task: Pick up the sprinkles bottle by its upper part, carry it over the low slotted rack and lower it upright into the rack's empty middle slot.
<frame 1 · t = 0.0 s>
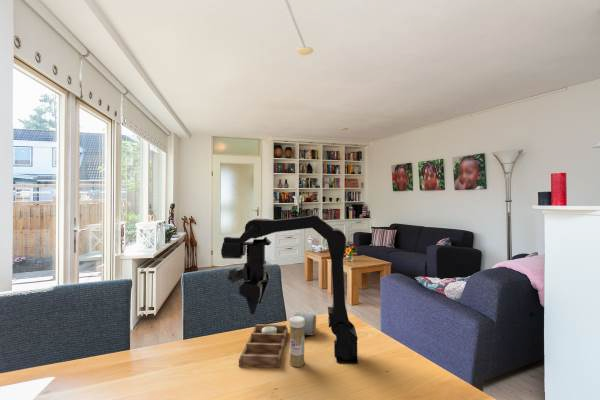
hand: (255, 308, 94), 15 cm above the table, fingers open, 9 cm apart
ceramic mug: (304, 332, 110), on the table
sprinkles bottle: (297, 363, 89), on the table
rack: (265, 347, 99), on the table
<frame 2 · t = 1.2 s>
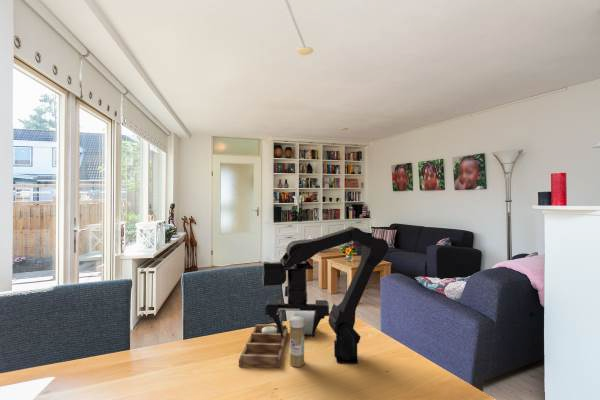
hand: (297, 335, 89), 8 cm above the table, fingers open, 9 cm apart
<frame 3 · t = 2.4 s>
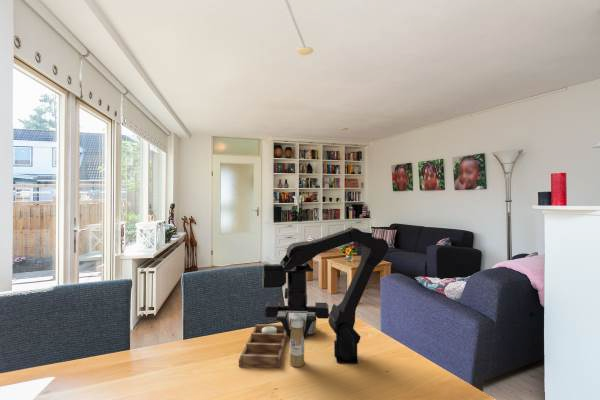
hand: (297, 338, 89), 8 cm above the table, fingers closed on sprinkles bottle, 4 cm apart
sprinkles bottle: (297, 363, 89), on the table, touching gripper
everything else where it was.
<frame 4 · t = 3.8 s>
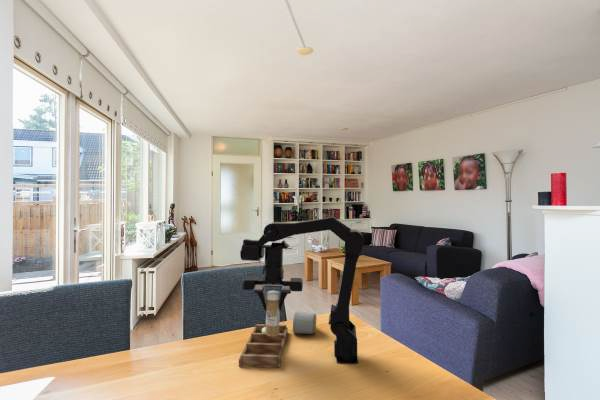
hand: (272, 310, 96), 13 cm above the table, fingers closed on sprinkles bottle, 4 cm apart
sprinkles bottle: (272, 334, 96), point 6 cm above the table, touching gripper
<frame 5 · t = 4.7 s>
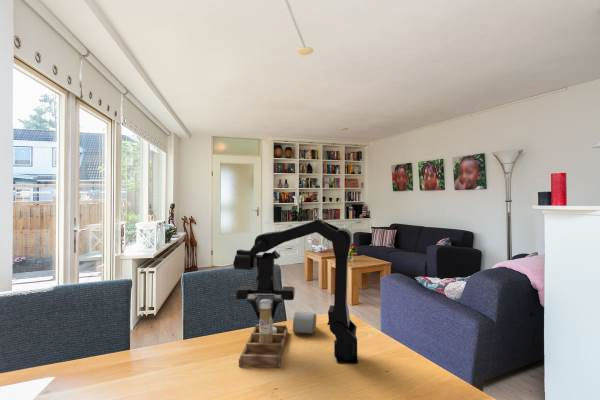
hand: (266, 318, 98), 10 cm above the table, fingers closed on sprinkles bottle, 4 cm apart
sprinkles bottle: (266, 342, 98), point 2 cm above the table, touching gripper
when the fingers open (9 cm above the table, at t = 5.4 s): sprinkles bottle drops 1 cm, resting on rack.
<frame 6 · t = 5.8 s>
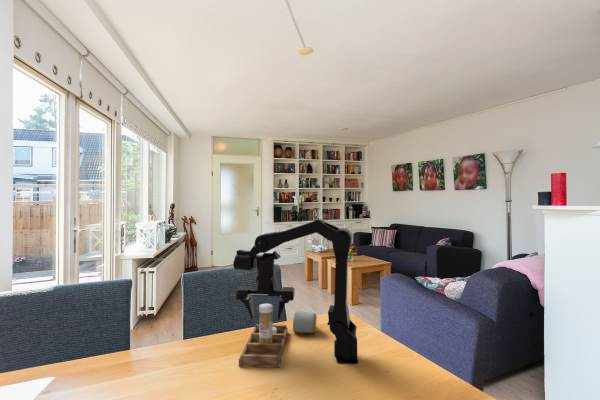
hand: (265, 319, 99), 9 cm above the table, fingers open, 8 cm apart
sprinkles bottle: (266, 346, 99), resting on rack
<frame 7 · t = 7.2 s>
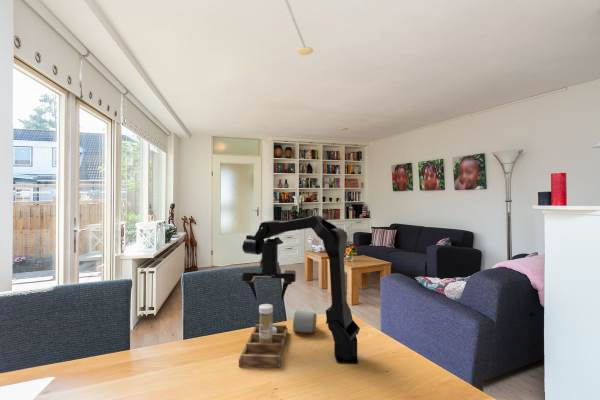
hand: (269, 299, 107), 13 cm above the table, fingers open, 9 cm apart
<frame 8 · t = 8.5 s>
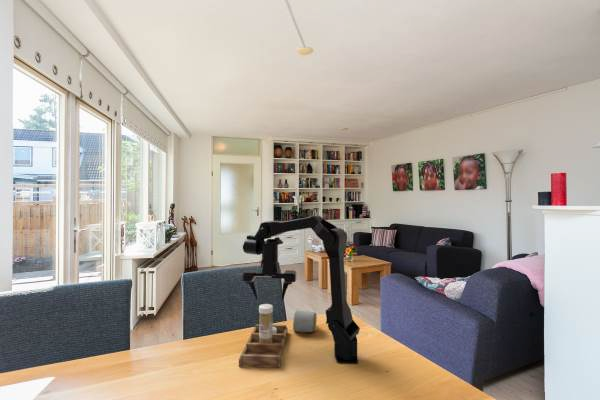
hand: (269, 299, 107), 13 cm above the table, fingers open, 9 cm apart
at the end: sprinkles bottle inside the target area on the rack (0.1 cm from its centre), point 0.3 cm above the rack's base; sprinkles bottle tilted 0°; the gripper is holding nothing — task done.
